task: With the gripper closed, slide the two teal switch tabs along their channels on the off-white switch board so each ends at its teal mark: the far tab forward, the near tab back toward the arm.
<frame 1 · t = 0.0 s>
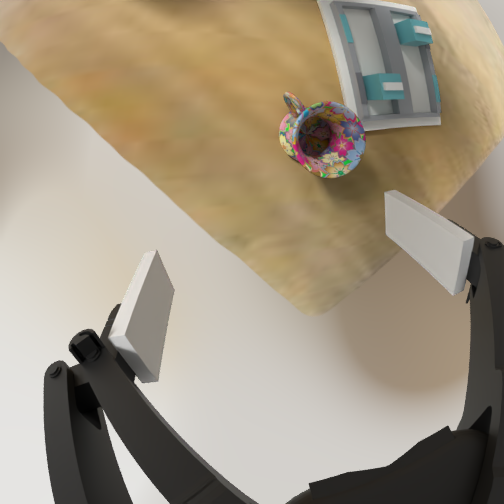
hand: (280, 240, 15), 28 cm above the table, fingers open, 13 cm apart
switch board: (386, 60, 33), on the table
tab b: (384, 87, 32), point 4 cm above the table, slide at 0.0 cm
tab a: (413, 32, 27), point 4 cm above the table, slide at 0.0 cm
mug: (299, 127, 38), on the table
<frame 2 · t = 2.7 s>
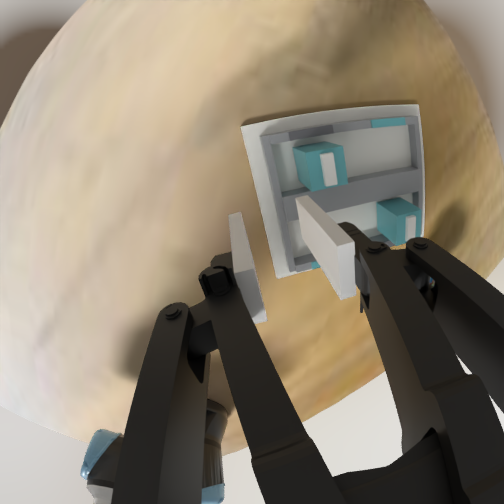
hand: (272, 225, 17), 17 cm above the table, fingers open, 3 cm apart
switch board: (350, 186, 33), on the table
tab b: (399, 221, 32), point 4 cm above the table, slide at 0.0 cm
tab a: (320, 164, 28), point 4 cm above the table, slide at 0.0 cm
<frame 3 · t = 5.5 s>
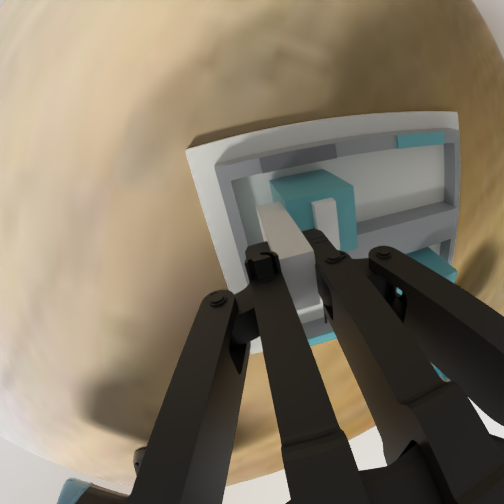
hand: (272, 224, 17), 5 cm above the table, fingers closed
switch board: (358, 232, 23), on the table
tab b: (424, 283, 21), point 4 cm above the table, slide at 0.0 cm
tab a: (312, 213, 17), point 4 cm above the table, slide at 0.0 cm, touching gripper
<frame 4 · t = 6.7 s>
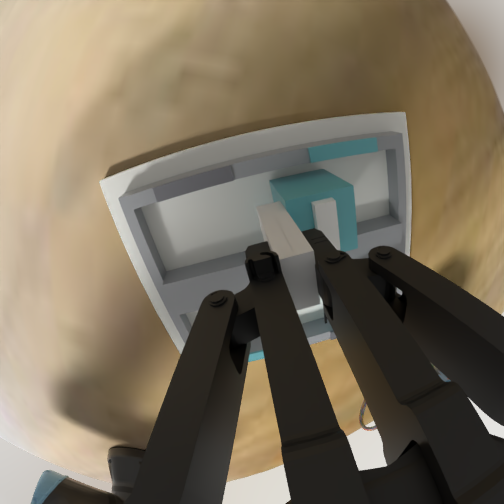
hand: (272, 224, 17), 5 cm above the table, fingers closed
switch board: (283, 252, 23), on the table
tab a: (313, 213, 17), point 4 cm above the table, slide at 6.9 cm, touching gripper
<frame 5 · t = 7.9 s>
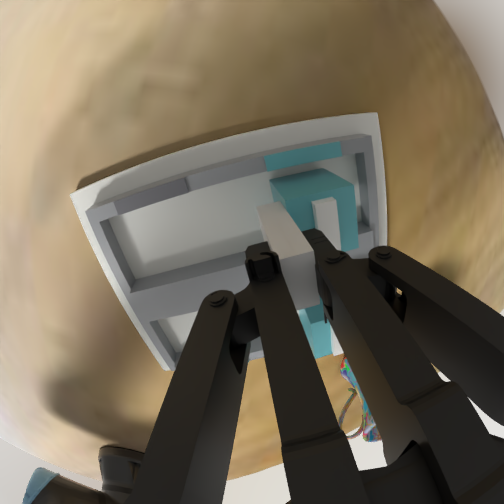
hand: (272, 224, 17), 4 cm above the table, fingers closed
switch board: (250, 260, 23), on the table
tab b: (329, 316, 21), point 4 cm above the table, slide at 0.0 cm
tab a: (313, 212, 17), point 4 cm above the table, slide at 9.7 cm, touching gripper
mug: (359, 358, 31), on the table
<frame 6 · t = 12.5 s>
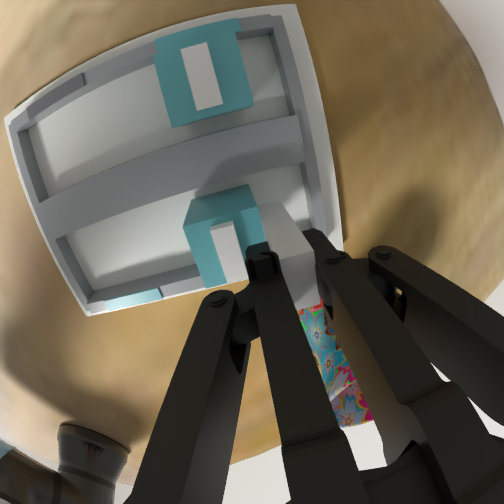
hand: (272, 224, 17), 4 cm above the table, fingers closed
switch board: (161, 169, 18), on the table
tab b: (228, 233, 17), point 4 cm above the table, slide at 1.3 cm, touching gripper
tab a: (204, 83, 13), point 4 cm above the table, slide at 9.7 cm
mug: (324, 319, 27), on the table
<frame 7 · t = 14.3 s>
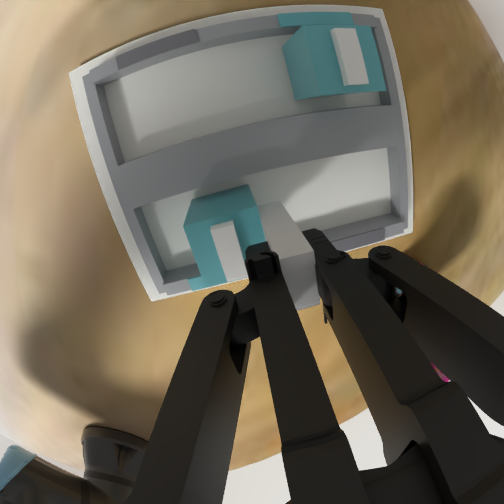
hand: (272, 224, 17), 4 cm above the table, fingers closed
switch board: (261, 141, 19), on the table
tab b: (228, 233, 17), point 4 cm above the table, slide at 8.7 cm, touching gripper
tab a: (331, 63, 13), point 4 cm above the table, slide at 9.7 cm
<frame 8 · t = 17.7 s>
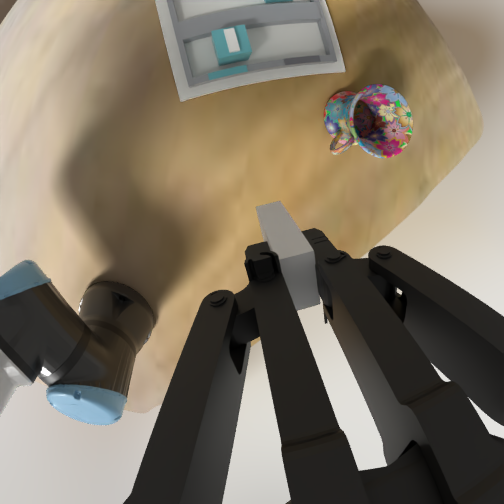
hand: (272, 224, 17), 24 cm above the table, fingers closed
switch board: (249, 21, 29), on the table
tab b: (230, 45, 27), point 4 cm above the table, slide at 8.8 cm
mug: (340, 122, 37), on the table
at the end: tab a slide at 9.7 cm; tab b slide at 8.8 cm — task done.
